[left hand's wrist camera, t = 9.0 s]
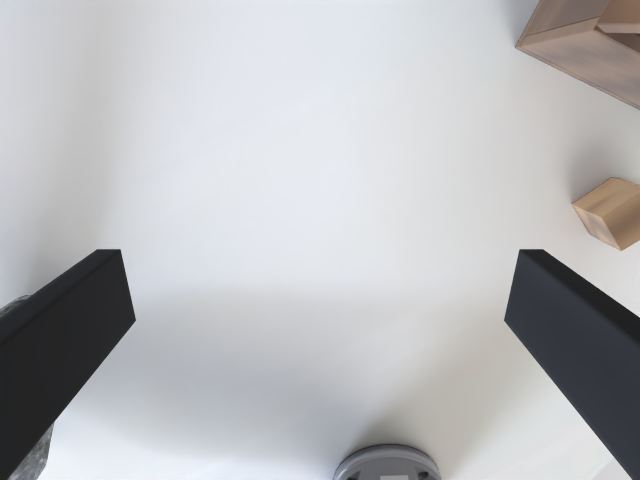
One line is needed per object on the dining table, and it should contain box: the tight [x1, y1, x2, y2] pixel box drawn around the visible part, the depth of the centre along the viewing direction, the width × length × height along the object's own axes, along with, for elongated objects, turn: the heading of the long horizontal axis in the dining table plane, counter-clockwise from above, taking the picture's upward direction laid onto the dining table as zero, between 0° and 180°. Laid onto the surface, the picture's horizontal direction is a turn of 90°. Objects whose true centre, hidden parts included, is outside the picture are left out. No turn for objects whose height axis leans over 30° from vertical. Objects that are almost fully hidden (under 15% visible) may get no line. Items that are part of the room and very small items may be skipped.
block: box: [572, 177, 640, 251], centre depth 36 cm, size 4×4×4 cm
